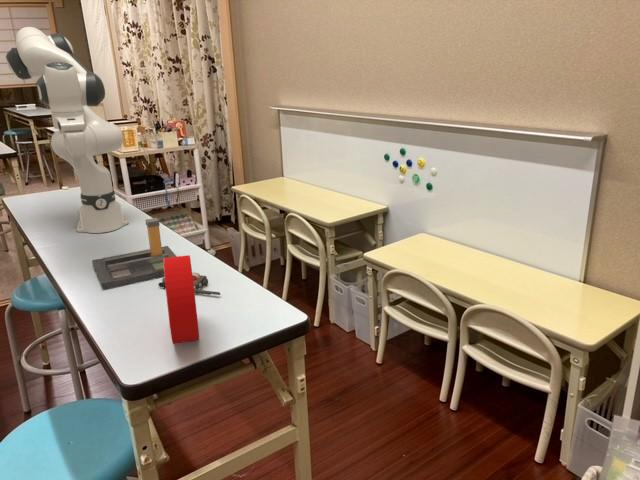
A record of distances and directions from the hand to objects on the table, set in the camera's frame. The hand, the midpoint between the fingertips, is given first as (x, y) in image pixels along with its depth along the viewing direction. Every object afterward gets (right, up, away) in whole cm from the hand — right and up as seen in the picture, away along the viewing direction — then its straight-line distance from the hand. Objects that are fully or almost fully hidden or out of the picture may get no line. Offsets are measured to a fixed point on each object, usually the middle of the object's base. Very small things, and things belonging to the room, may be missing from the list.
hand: (78, 167), depth 153 cm
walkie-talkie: (+37, -36, -7) cm, 52 cm away
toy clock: (+41, -45, -32) cm, 69 cm away
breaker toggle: (+21, -28, +8) cm, 36 cm away
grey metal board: (+16, -31, +6) cm, 35 cm away
